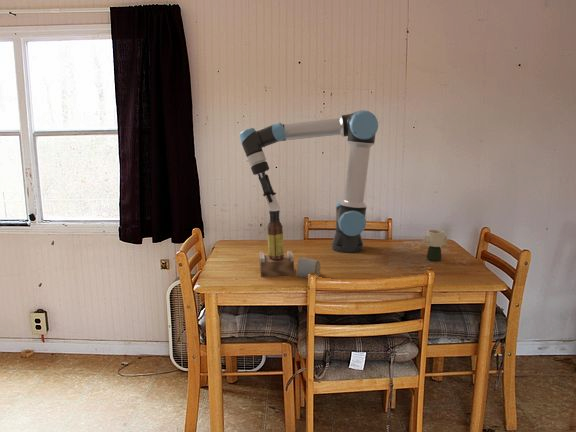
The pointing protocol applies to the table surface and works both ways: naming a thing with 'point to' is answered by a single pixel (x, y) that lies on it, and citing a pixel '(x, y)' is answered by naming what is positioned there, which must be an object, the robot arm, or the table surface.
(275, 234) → the sauce bottle
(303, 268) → the ceramic mug
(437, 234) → the character mug
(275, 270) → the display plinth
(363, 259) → the table surface
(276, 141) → the robot arm
